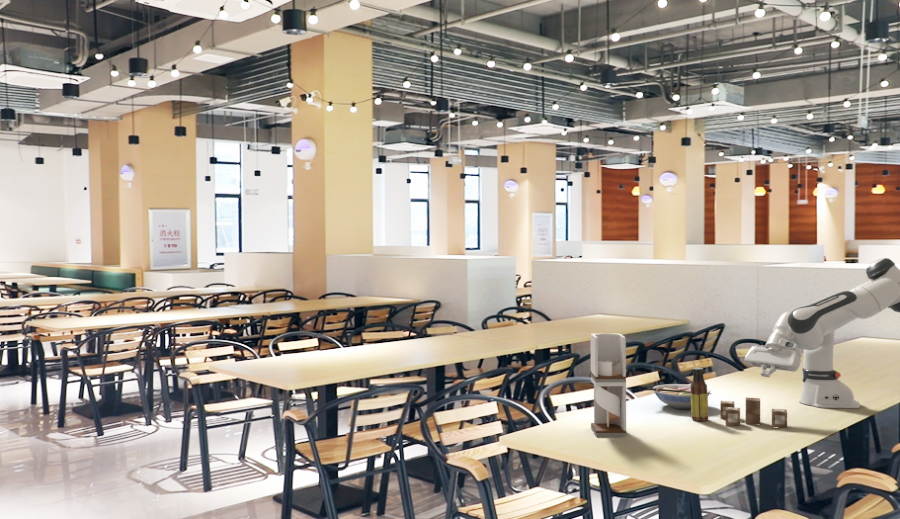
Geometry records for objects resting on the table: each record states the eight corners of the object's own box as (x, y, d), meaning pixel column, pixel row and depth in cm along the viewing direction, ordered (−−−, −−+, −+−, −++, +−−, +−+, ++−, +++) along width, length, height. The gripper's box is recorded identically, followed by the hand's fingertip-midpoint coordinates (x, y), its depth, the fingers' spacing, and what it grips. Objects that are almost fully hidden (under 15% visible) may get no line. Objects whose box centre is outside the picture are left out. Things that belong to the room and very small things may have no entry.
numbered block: (786, 425, 287) (786, 409, 286) (787, 429, 282) (787, 412, 282) (771, 424, 288) (771, 408, 288) (772, 428, 283) (772, 411, 283)
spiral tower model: (591, 428, 286) (590, 333, 285) (620, 428, 286) (619, 333, 284) (595, 436, 274) (595, 337, 273) (626, 436, 274) (625, 337, 273)
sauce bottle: (708, 418, 299) (708, 367, 298) (708, 422, 293) (708, 369, 292) (690, 417, 301) (690, 366, 300) (690, 421, 295) (690, 369, 294)
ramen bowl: (716, 403, 324) (716, 384, 324) (710, 415, 304) (710, 394, 303) (655, 399, 335) (655, 380, 335) (645, 410, 314) (645, 390, 314)
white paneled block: (734, 416, 301) (734, 401, 301) (734, 419, 296) (734, 403, 296) (720, 416, 303) (720, 400, 303) (720, 419, 298) (720, 403, 298)
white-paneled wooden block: (740, 423, 290) (740, 407, 290) (740, 427, 285) (740, 410, 285) (725, 422, 292) (725, 406, 292) (725, 426, 287) (725, 409, 287)
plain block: (759, 422, 293) (759, 398, 292) (760, 425, 288) (760, 400, 288) (745, 421, 294) (745, 397, 294) (745, 424, 290) (745, 400, 289)
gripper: (749, 339, 305) (736, 367, 300) (800, 344, 290) (787, 374, 284) (755, 349, 308) (742, 377, 302) (806, 355, 293) (793, 384, 287)
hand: (764, 375), depth 293 cm, fingers closed
